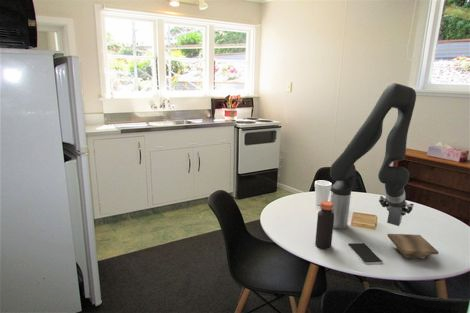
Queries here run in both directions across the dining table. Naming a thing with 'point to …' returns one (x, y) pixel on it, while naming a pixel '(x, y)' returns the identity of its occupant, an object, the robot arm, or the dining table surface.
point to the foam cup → (322, 191)
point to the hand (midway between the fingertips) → (396, 212)
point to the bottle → (325, 225)
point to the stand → (412, 245)
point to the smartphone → (365, 253)
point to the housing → (394, 216)
